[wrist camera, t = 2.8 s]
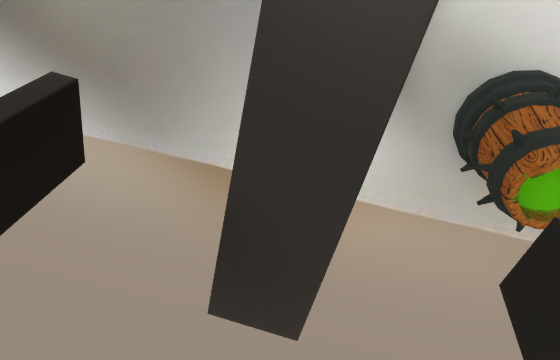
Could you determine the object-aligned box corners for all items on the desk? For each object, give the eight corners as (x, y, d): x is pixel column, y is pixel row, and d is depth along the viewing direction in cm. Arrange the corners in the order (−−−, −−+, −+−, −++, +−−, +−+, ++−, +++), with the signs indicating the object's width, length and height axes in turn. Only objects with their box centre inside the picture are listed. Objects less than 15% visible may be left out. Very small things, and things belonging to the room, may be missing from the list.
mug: (433, 163, 38) (453, 247, 29) (475, 55, 32) (517, 116, 23) (578, 190, 37) (649, 287, 27) (649, 84, 31) (769, 160, 22)
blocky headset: (258, 151, 28) (185, 307, 17) (325, -163, 18) (253, -269, 7) (341, 175, 28) (320, 348, 17) (454, -130, 18) (577, -187, 7)
